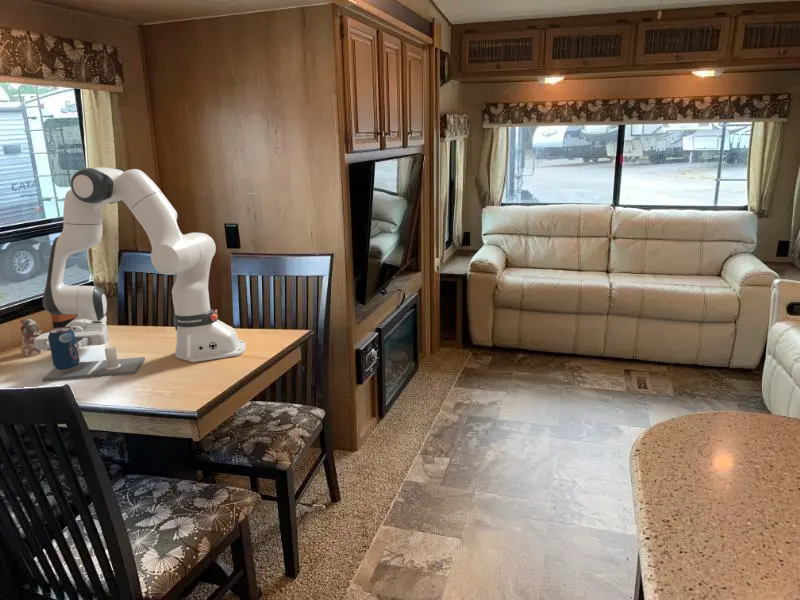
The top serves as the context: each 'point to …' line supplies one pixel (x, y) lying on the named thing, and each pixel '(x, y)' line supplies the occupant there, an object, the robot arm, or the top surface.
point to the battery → (62, 320)
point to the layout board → (98, 368)
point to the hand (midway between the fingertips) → (62, 347)
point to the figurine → (30, 338)
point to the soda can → (63, 348)
